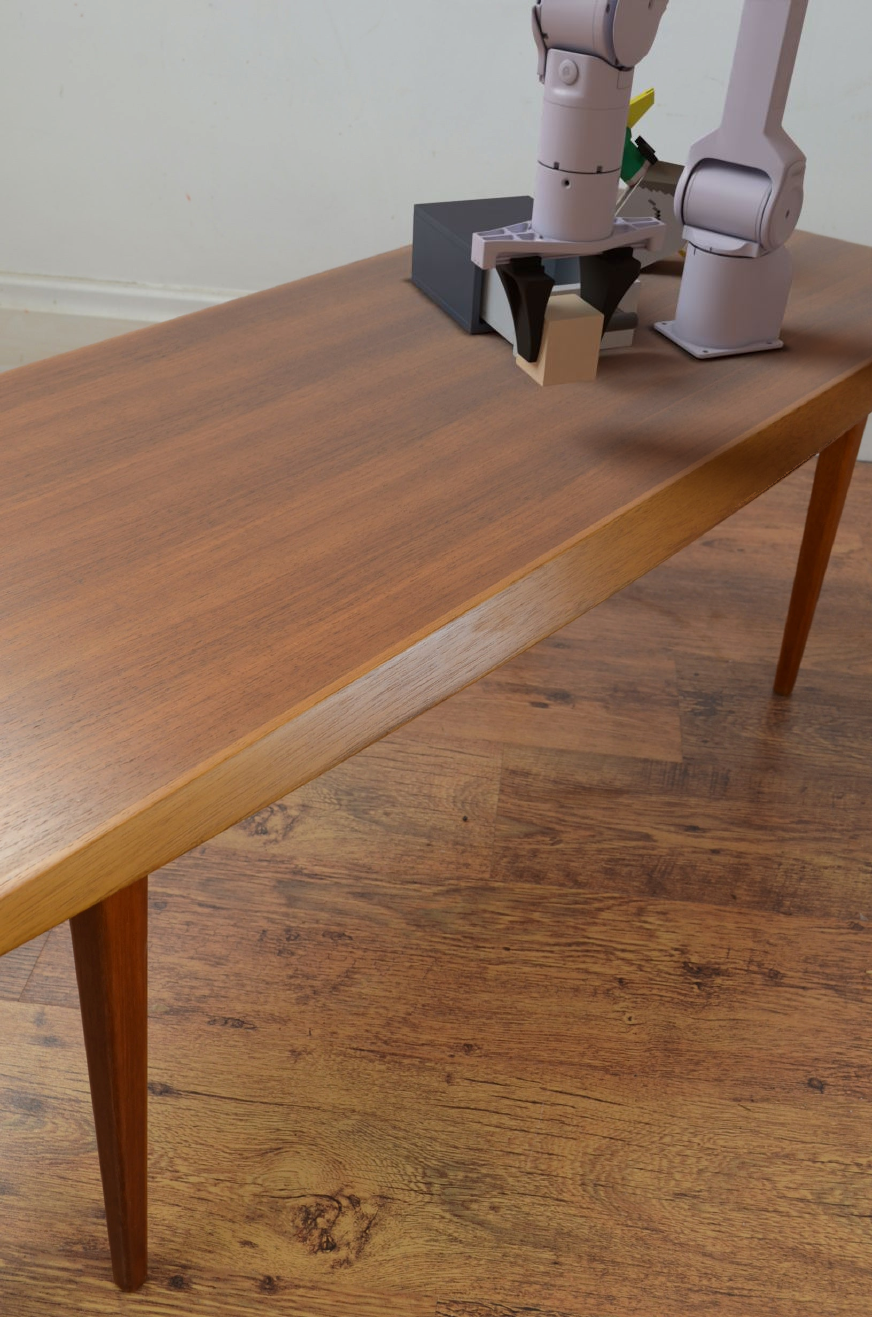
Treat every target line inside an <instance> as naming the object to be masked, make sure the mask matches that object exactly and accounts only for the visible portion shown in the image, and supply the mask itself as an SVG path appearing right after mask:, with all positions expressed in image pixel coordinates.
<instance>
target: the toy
mask: <svg viewBox="0 0 872 1317" xmlns="http://www.w3.org/2000/svg"><path fill="white" fill-rule="evenodd" d="M654 104H655V88H654V87H653V86H651V87H650V88H648V89H646V90H645V91H644V92H641V93H639V94H638V95H637V96H634V97H633V98H631V99H630V105H629V112H628V120H627V127H626V135H625V142H624V150H623V157H622V165H621V173H620V179H621V180H622V182H624V183H625V184H626V185H627V186H626V187H625V189H624V190H623V192H622V193H621V195H620V197H619V198H618V199H617V202H616V210H615V217H628V218H639V217H654V218H656V219H657V220H659V221H661V222H663V223H664V224H666V225H667V226H666V232H665V239H664V245H663V251H660V252H649V251H647V250H636V251H633V257H634V258H636V259H637V260H639V261H640V262H641V269H643V268H645V267H647V266H650V265H651V264H654V263H656V262H659V261H661V260H662V259H664V258H667V257H670V256H671V255H673V254H675V253H678V254H679V255H680V256H681V257H682V258H683V259H684V260H685V259H686V253H687V252H685V251H684V250H682V249H683V248H684V246H685V245H686V244H687V242H689V241H688V240H685V239H682V235H683V229H684V228H682V227H680V226H679V225H678V223H677V220H676V216H675V213H674V197H675V192H676V188H677V184H678V182H679V179H680V177H681V175H682V173H683V170H684V167H685V165H683V164H678V163H673V162H669V161H663V160H659V158H658V157H657V155H656V152H657V151H656V150H655V149H654V148H653V147H652V146H651V145H650V144H649V142H647V141H646V140H645V139H644V138H643V137H642V135H640V134H639V135H638V136H637V138H635V140H634V142H633V141H632V138H633V134H632V128H633V127H635V125H636V124H637V123H638V122H639V121H640V119H642V118H643V116H644V115H645V114H646V113H647V112H648V111H649V110H650V109H651V107H652V106H653V105H654Z"/></svg>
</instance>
